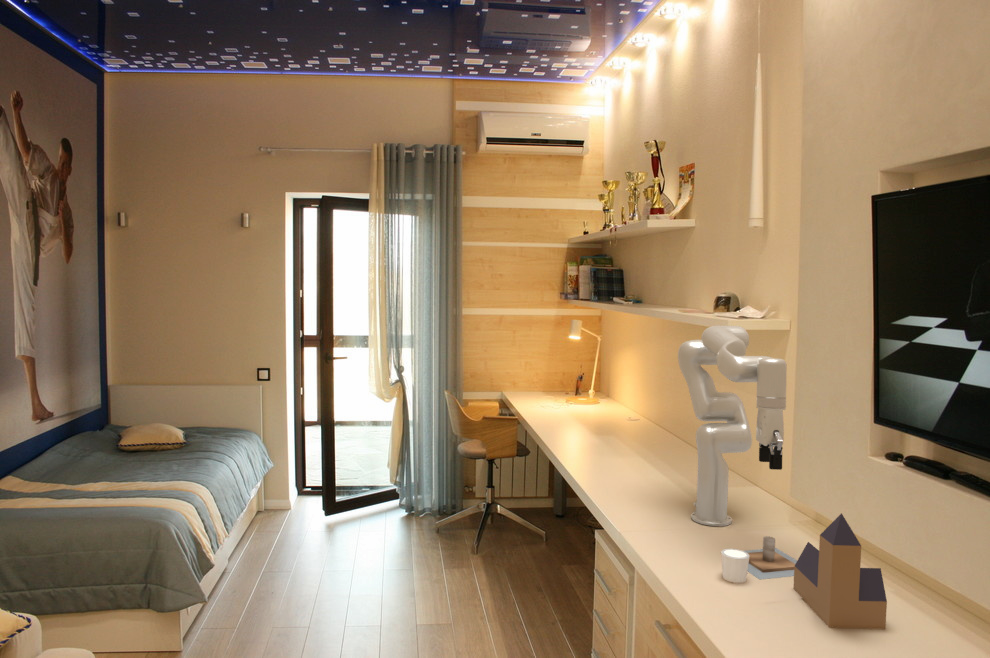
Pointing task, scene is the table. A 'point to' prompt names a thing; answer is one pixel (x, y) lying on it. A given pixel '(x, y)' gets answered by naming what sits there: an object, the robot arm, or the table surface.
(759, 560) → the lid
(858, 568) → the toy building blocks
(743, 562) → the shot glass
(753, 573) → the mat
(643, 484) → the table surface
